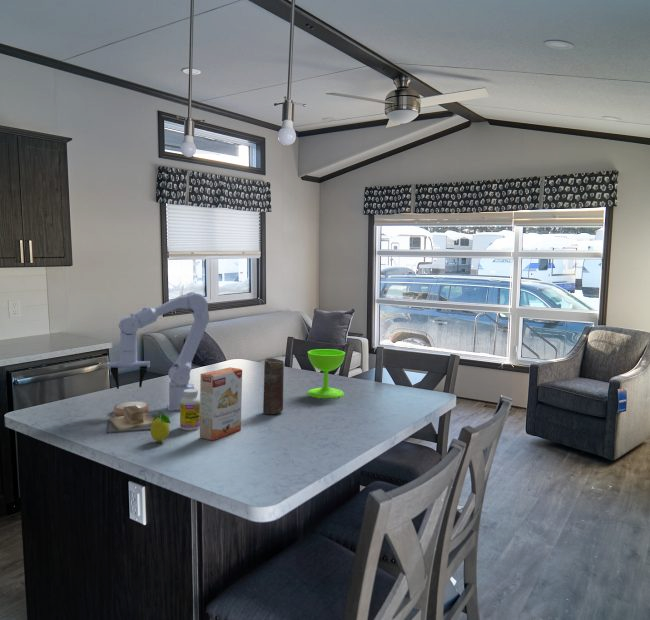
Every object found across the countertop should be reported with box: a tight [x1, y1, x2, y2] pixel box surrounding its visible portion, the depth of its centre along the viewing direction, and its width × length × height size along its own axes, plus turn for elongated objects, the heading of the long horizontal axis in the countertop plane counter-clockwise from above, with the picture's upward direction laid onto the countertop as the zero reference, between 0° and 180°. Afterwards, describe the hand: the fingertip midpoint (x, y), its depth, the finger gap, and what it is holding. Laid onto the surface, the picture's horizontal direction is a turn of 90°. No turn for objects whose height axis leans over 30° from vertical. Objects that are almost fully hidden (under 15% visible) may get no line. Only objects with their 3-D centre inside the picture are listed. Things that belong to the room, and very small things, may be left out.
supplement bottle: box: [179, 388, 200, 431], centre depth 184 cm, size 7×7×13 cm
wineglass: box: [306, 348, 346, 399], centre depth 233 cm, size 16×16×18 cm
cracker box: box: [199, 366, 243, 441], centre depth 178 cm, size 14×6×21 cm, turn 148°
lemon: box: [150, 410, 171, 443], centre depth 169 cm, size 7×6×10 cm
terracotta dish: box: [113, 400, 150, 417], centre depth 201 cm, size 12×12×3 cm
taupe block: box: [108, 405, 156, 431], centre depth 187 cm, size 13×13×5 cm
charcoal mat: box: [107, 414, 159, 434], centre depth 187 cm, size 16×16×1 cm
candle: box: [262, 357, 285, 415], centre depth 203 cm, size 8×7×20 cm
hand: (129, 387), depth 199 cm, fingers open, 7 cm apart
